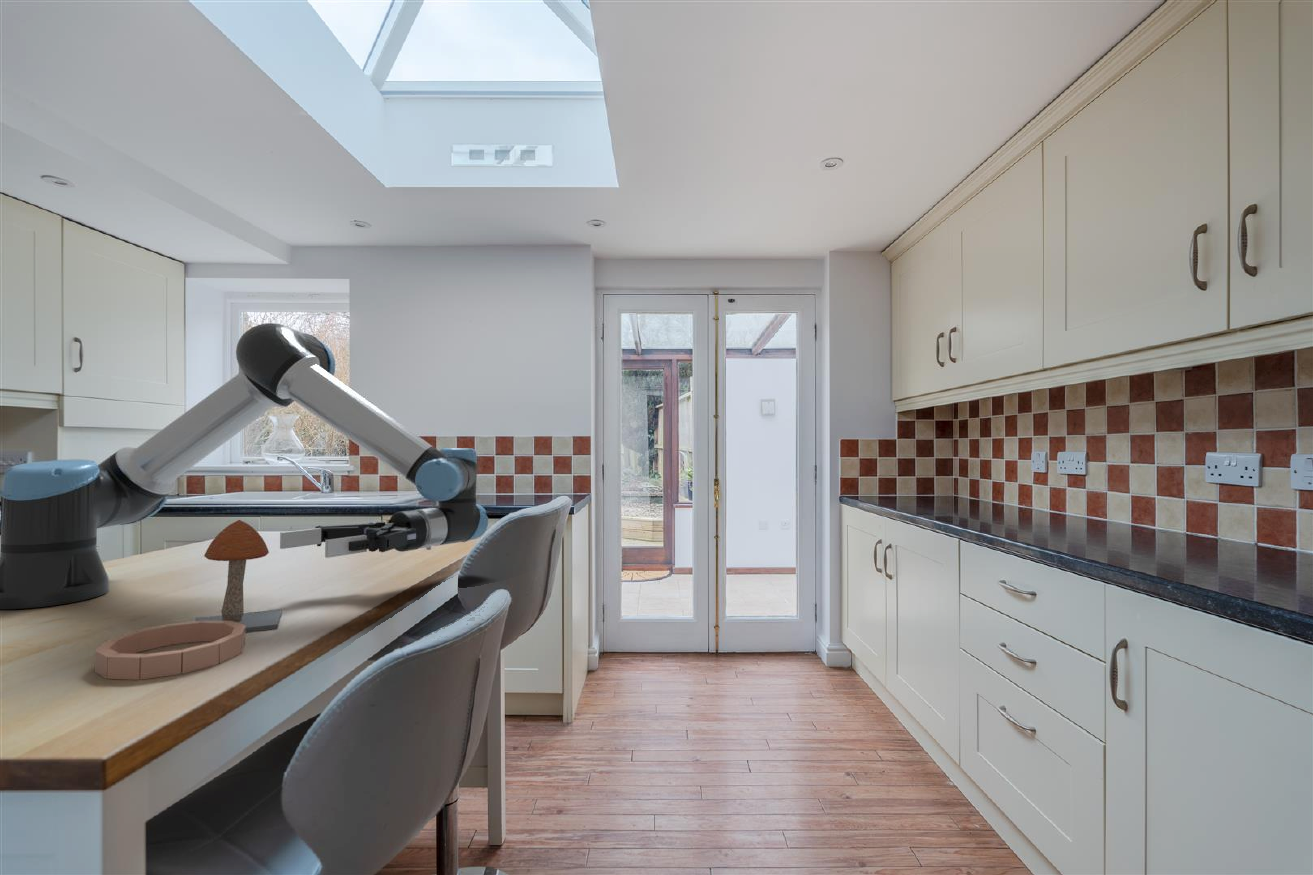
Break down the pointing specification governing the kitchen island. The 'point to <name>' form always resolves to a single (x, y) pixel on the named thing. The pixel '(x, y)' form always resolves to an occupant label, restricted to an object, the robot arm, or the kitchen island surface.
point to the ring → (124, 664)
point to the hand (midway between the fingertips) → (302, 544)
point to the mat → (254, 620)
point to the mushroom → (236, 562)
